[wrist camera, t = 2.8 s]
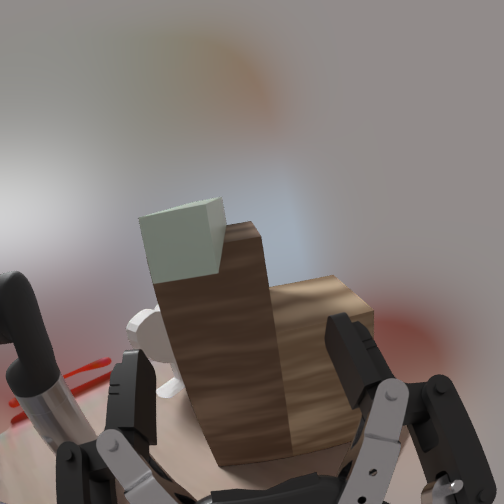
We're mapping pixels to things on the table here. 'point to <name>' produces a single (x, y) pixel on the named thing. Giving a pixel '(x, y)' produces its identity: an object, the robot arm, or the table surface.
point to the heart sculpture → (155, 346)
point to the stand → (260, 355)
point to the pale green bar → (184, 240)
